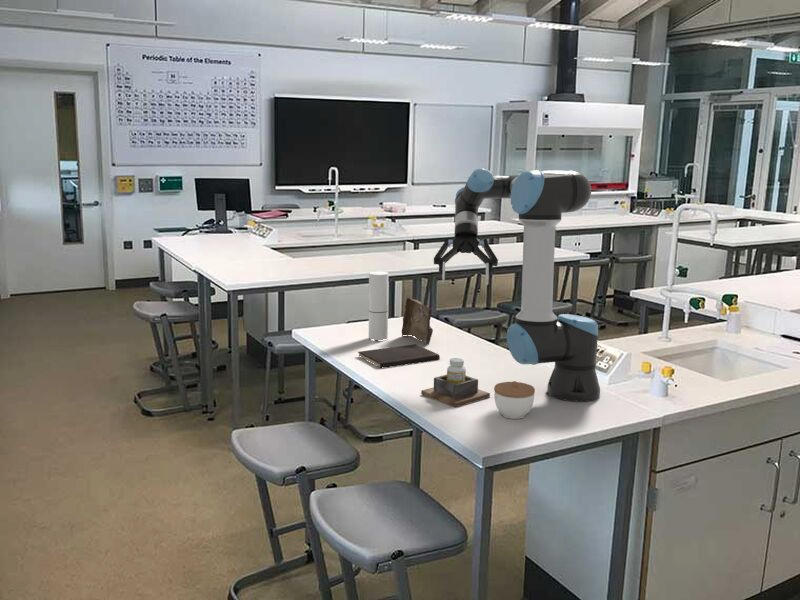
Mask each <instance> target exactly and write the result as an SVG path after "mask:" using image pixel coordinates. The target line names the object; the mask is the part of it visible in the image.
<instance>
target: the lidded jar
mask: <svg viewBox="0 0 800 600" xmlns="http://www.w3.org/2000/svg"><path fill="white" fill-rule="evenodd" d="M493 387H494V391H493V392H494V402H495V403H494V404H495V406H496V409H497V410H498V411H499V413H501V415H502V417H503V418H506V419H511V420H520V419H523V418H525V417H526V415H527V414H528V413H530V411H531V410H532V407H533V405H534V400H535V399H534V398H535V392H536V391H535V390H536V389H535V387H534V386H532V385H531V384H528V383H526V382H525V383H524V382H520V381H515V380H514V381H505V382H504V381H503V382H499V383H496V384H495V385H494V386H493Z"/></svg>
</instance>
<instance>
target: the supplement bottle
mask: <svg viewBox="0 0 800 600" xmlns="http://www.w3.org/2000/svg"><path fill="white" fill-rule="evenodd" d="M464 365H465V360H464V359H463V358H459V357H453V358H450V359H449V365H448V366H447V369H446V375H447V381H449V382H452V383H455V384H457V383H461V382H465V375H466V376H467V373H466V372H467V371H466V367H465V366H464Z"/></svg>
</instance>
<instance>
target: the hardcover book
mask: <svg viewBox="0 0 800 600" xmlns="http://www.w3.org/2000/svg"><path fill="white" fill-rule="evenodd" d="M357 353H358V357H359V356H361V357H362V358H364V359H366V360H368V361H370V362H372V363H374V364H375V365H377V366H379V367H380V368H381V369H383V368H382V367H387V368H391V367H390V366H394V367H398V366H397V365H401V366H406V365H405V364H408V365H412V363H414V364H419V362H421V363H427V361H428V362H433V361H440V357H441V356H440V354H439V353H436V352H434V351H432V350H429V349H428V348H425V347H423V346H420V345H418V344H416V343H415V344H413V343H412V344H406V345H398V346H391V347H384V348H376V349H369V350H363V351H362V350H361V351H357ZM362 358H361V359H362ZM364 359H363V360H364ZM366 360H365V361H366ZM368 361H367V362H368ZM370 362H369V363H370ZM372 363H371V364H372ZM375 365H374V366H375ZM377 366H376V367H377ZM379 367H378V368H379ZM380 368H379V369H380Z"/></svg>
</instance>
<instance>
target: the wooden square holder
mask: <svg viewBox="0 0 800 600" xmlns="http://www.w3.org/2000/svg"><path fill="white" fill-rule="evenodd" d="M420 394H422V396H425V397H427V398H430V399H432V400H435V401H437V402H441V403H443V404H445V405H449V406H451V407H454V408H458V407H462V406H465V405H468V404H473V403H475V402H479V401H481V400H485V399H488V398H491V397H490V396H491V392H487V391H484V390H482V389H479V379H478V378H475V377H472V376H469V375H467V374H466V375H465V382H461V383H457V384H455V383H452V382H449V381H447V374H444V375H440V376H435V377H433V386H432V387H430V388H426V389H422V390H420Z"/></svg>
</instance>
